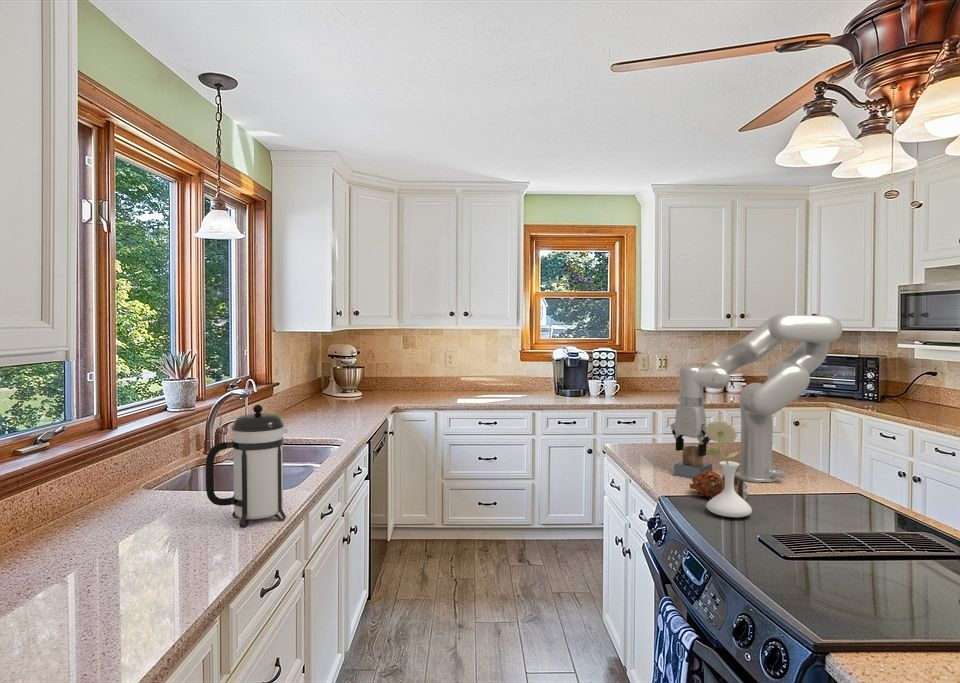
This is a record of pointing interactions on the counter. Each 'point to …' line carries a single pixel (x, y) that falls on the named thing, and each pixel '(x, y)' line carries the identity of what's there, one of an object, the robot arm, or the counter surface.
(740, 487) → the chocolate cake
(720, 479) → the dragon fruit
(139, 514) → the counter surface
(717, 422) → the flower in vase
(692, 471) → the gray rectangular block
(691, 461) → the block
